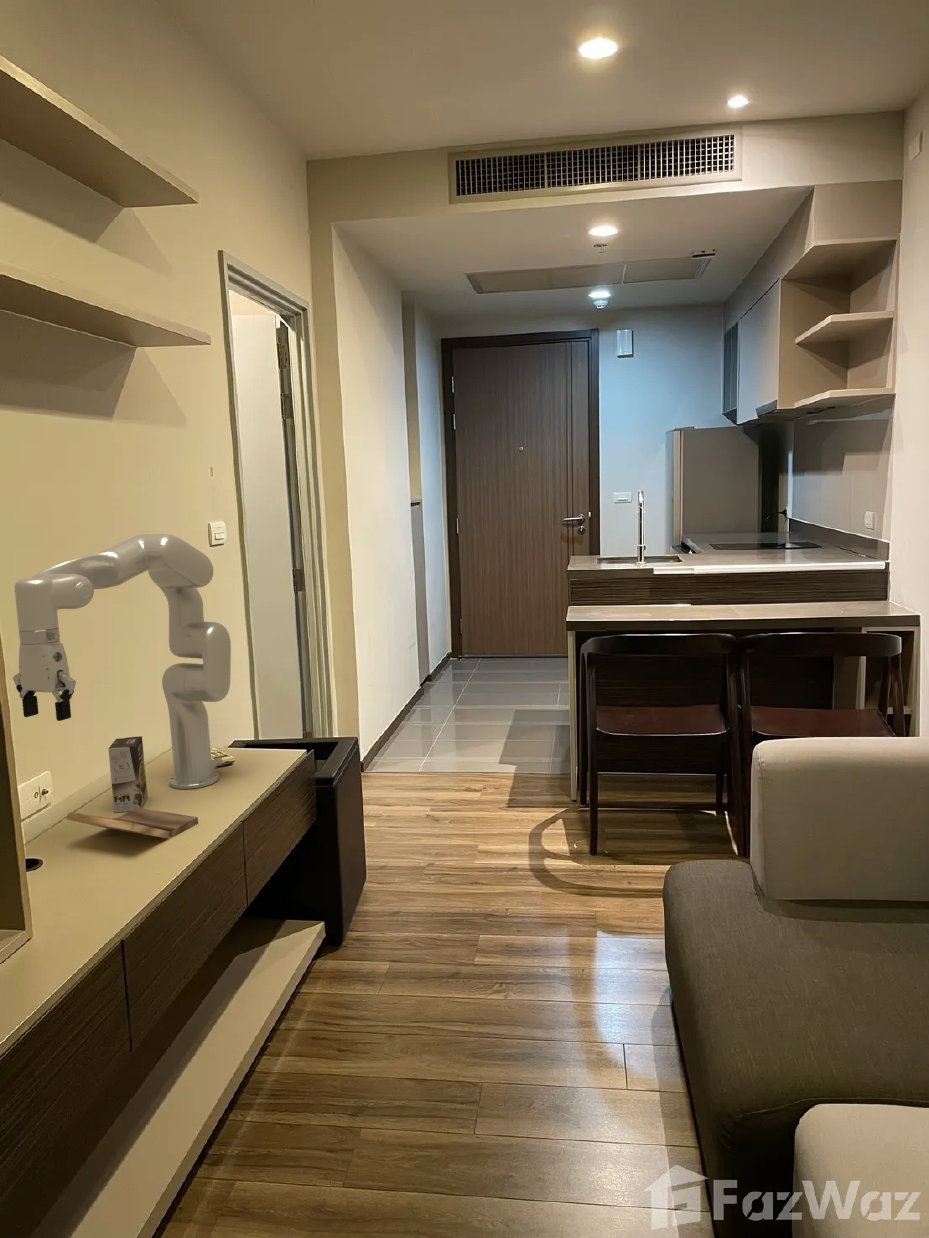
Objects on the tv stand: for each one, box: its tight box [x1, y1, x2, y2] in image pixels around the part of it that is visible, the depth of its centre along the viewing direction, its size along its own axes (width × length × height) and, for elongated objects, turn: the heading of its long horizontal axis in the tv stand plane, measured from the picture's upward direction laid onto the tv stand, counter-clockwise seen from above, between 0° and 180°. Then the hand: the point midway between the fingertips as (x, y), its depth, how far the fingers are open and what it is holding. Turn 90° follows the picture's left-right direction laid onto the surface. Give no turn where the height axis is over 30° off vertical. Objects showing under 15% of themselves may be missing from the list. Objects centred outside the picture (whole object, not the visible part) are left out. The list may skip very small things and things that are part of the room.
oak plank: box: [66, 811, 170, 839], centre depth 190 cm, size 12×18×2 cm, turn 67°
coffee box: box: [107, 736, 148, 813], centre depth 212 cm, size 9×6×16 cm
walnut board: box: [112, 807, 199, 838], centre depth 200 cm, size 8×18×2 cm, turn 66°
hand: (47, 717), depth 184 cm, fingers open, 9 cm apart
